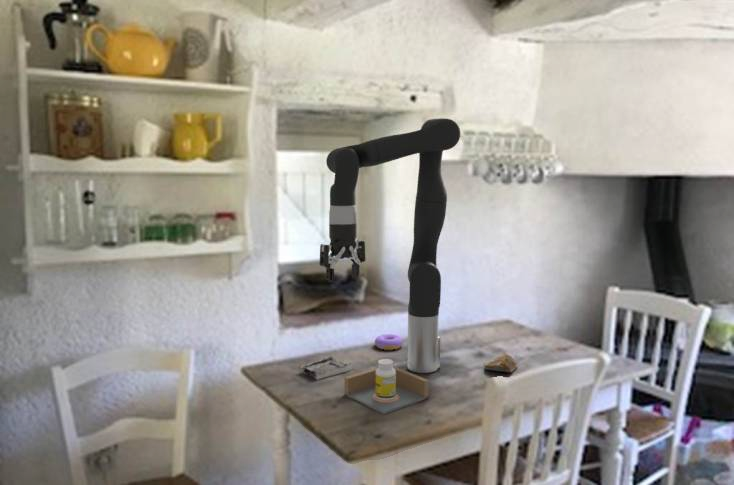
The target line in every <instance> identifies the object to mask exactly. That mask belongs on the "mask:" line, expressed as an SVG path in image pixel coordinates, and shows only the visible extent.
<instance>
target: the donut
mask: <svg viewBox="0 0 734 485" xmlns="http://www.w3.org/2000/svg"><path fill="white" fill-rule="evenodd" d="M403 343H404V339H403V337H402V336H401V335H398V334H392V333H386V334H381V335H378V336H377V337H376V338H375V339H374V344H375V346H376V348H378V349H379V348H380V349H379V350H382V349H384V350H383V351H394V350H393V349H395V350H398V349H400V348H401V347H402V346H403Z"/></svg>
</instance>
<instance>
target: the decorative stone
mask: <svg viewBox="0 0 734 485" xmlns="http://www.w3.org/2000/svg"><path fill="white" fill-rule="evenodd" d="M483 367H484V368H485V369H486V370H488V371H493V372H503V373H509V374H510V373H513V372H516V370H517V362H516V360H515V359H514V358H513V356H511V355H510V354H508V353H506V352H504V353H502V354H501V355H500V356H498V357H496V358H494V359H493V360H490V361H487V362H484V363H483Z"/></svg>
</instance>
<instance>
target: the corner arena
mask: <svg viewBox="0 0 734 485" xmlns="http://www.w3.org/2000/svg"><path fill="white" fill-rule="evenodd" d="M378 368H379V367H378V366H377V367H373V368H372V369H368V370H365V371H360V372H356V373H354V374H351V375H347V376H344V395H345V396H346V397H348V398H350V399H352V400H354V401H355V402H358V403H360V404H362V405H364V406H366V407H368V408H370V409H371V410H374V411H376V412H378V413H380V414H382V415H386V414H389V413H391V412H395V411H397V410H399V409H403V408H405V407H409V406H410V405H413V404H416V403H418V402H422V401H424V400H427V399H429V392H430V390H429V389H430V388H429V387H430V386H429V383H430V382H429V381H430V380H429V379H427V378H424V377H422V376H420V375H416V374H414V373H412V372H410V371H407V370H404V369H402V368H400V367H396V366H394V365H393V368H394V369H395V371H396V397H395V398H394V399H392V400H380V399H378V398H377V397H376V370H377V369H378Z"/></svg>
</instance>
